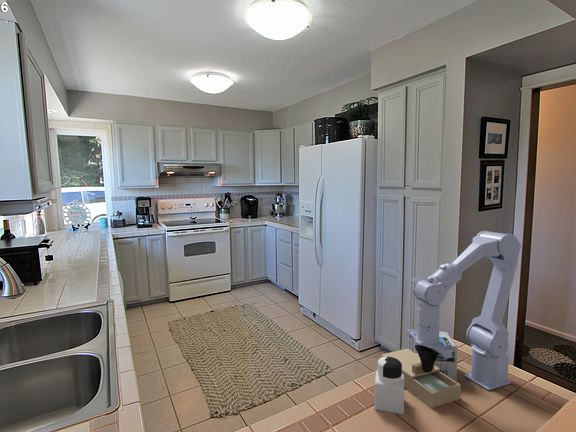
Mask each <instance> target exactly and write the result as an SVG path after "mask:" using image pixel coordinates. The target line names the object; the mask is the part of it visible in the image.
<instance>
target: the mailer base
mask: <svg viewBox="0 0 576 432" xmlns="http://www.w3.org/2000/svg"><path fill="white" fill-rule="evenodd" d="M402 374H404V388H405V389H406V390H408V391H409V390H410V391H409V392H411V393H412V394H413V395H414V394H415V395H414V396H416V398H418V397H419V398H418V399H419V400H421V401H422V402H423V403H424V404H426V405H427V406H428V407H430V409H434V408H436V407H440V406H443V405H446V404H449V403H452V402H455V401H458V400H461V399H462V398H461V397H462V396H461V393H462V391H461V390H462V385H461V383H459V382H457V381H454V380H453V379H451V378H449V377H448V376H446V375H445V374H443V373H442V372H440V371H436V372H432V373H429V374H425V375H421V376H418V377H414V378H411V377H409V376H408V375H406V374H405V373H404V372H402Z"/></svg>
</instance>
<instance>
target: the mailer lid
mask: <svg viewBox="0 0 576 432" xmlns="http://www.w3.org/2000/svg"><path fill="white" fill-rule="evenodd" d="M381 357H393V358H396V359H398V360H399V361H400V362H401V363H402V372H404V373H405V374H406V375H408V376H409V377H411V378H414V377H418V376H421V375H425V374H429V373H432V372H436V371H440V368H438V367H436V366H435V365H434V366H433V369H432V372H428V373H426V372H424V371H423V368H422V364H421V360H420V357H419V355H418V353H416V352H414V351H412V350H411V349H409V348H403V349H400V350H399V349H398V350H396V351H395V350H394V351H391V352H386V353H382V354H381Z"/></svg>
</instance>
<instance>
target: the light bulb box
mask: <svg viewBox="0 0 576 432" xmlns="http://www.w3.org/2000/svg"><path fill="white" fill-rule="evenodd" d="M439 340H440V341H441V342H442V343H443V344H444V345H445V346H447V347H448V348H449V349H451V350H452V357H451V358H447V359H446V358H444V357H443V355H442V354H439V355H438V357H437V359H436V361H435V363H434V365H435V366H436V367H438V368H440V372H442V373H443V374H445V375H446V376H448V377H449V378H451V379H453V380H454V381H456V382H457V381H458V380H457V379H458V378H457V377H458V376H457V375H458V346H457V344H456V343H455V342H454V341H453V339H452V338H451V336H450V334H449V333H448V332H447V331H439Z"/></svg>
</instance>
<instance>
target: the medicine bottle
mask: <svg viewBox="0 0 576 432" xmlns="http://www.w3.org/2000/svg"><path fill="white" fill-rule="evenodd" d="M374 409H375V410H376V411H383V412H387V413H392V414H397V415H402V416H404V414H405V387H404V374H402V363H401V362H400V361H399V360H398V359H396V358H393V357H382V356H381V357H380V358H379V359H378V360H377V369H376V373H375V381H374Z"/></svg>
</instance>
